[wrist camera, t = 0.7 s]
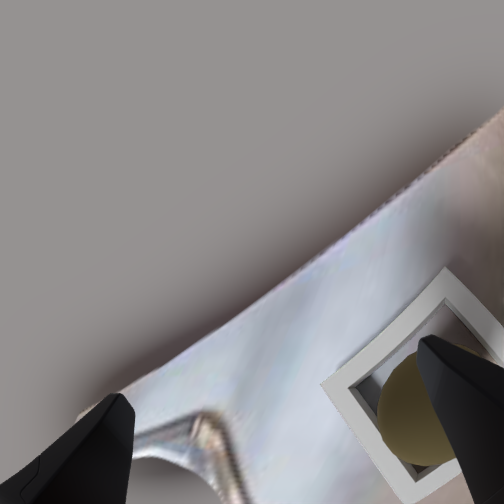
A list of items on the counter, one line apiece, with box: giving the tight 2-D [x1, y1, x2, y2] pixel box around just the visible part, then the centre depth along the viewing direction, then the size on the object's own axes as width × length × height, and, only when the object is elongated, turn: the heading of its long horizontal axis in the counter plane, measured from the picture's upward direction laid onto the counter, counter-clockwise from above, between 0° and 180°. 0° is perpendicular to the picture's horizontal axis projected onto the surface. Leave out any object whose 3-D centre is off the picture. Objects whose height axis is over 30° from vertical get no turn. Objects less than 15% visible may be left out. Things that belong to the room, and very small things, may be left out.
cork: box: [377, 344, 482, 466], centre depth 11 cm, size 6×6×11 cm
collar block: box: [320, 267, 504, 504], centre depth 15 cm, size 12×12×2 cm
